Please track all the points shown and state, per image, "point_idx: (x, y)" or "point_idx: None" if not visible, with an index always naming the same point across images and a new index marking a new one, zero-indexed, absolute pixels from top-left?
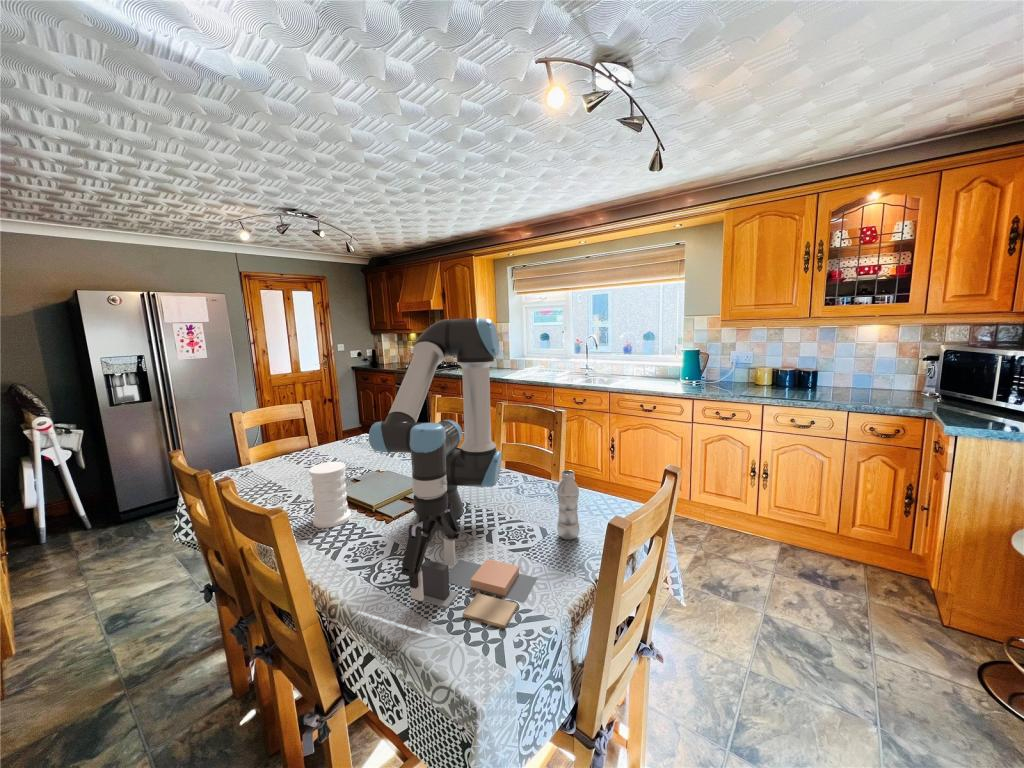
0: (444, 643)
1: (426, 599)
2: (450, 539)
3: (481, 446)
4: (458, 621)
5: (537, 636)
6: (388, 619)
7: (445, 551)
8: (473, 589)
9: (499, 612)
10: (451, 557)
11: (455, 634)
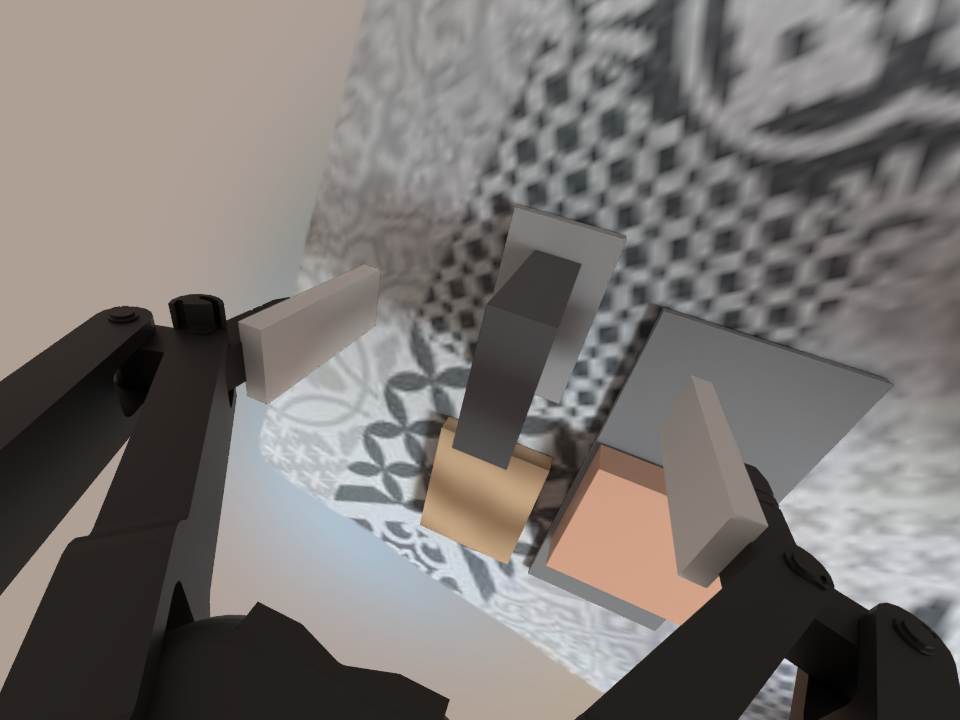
0: (349, 375)
1: (502, 279)
2: (717, 561)
3: None
4: (434, 404)
5: (426, 564)
6: (388, 128)
7: (702, 439)
8: (591, 450)
9: (464, 519)
10: (670, 451)
11: (386, 400)
